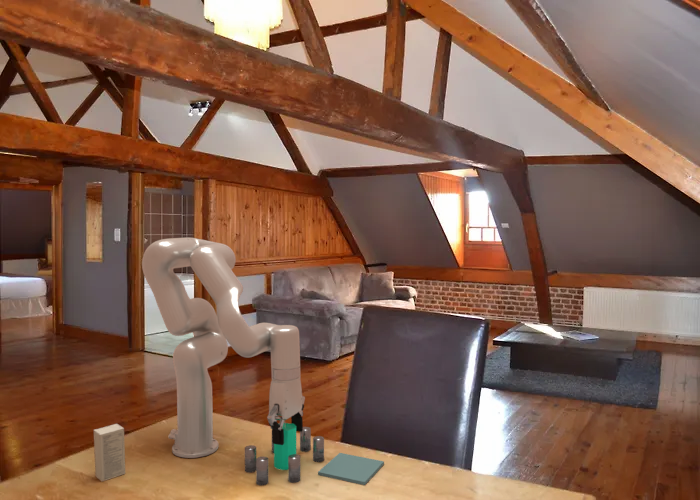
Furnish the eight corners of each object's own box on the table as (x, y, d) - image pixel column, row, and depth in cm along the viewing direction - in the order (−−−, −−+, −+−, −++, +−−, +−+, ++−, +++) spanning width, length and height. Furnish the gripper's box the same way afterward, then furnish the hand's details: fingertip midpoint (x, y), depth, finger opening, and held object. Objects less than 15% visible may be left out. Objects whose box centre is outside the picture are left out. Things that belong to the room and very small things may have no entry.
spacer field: (231, 478, 145) (231, 455, 145) (283, 442, 168) (283, 422, 168) (287, 491, 139) (287, 467, 138) (333, 452, 161) (333, 431, 161)
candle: (292, 471, 150) (292, 425, 149) (270, 468, 151) (270, 423, 150) (299, 461, 156) (299, 417, 155) (278, 459, 157) (277, 415, 156)
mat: (317, 475, 148) (317, 471, 148) (339, 455, 159) (339, 452, 159) (364, 485, 142) (364, 482, 142) (383, 464, 154) (384, 461, 154)
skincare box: (118, 468, 150) (117, 423, 150) (126, 474, 147) (125, 427, 147) (93, 476, 146) (92, 429, 145) (100, 482, 143) (99, 434, 142)
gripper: (290, 364, 161) (292, 424, 162) (255, 380, 145) (257, 447, 146) (314, 366, 158) (315, 427, 159) (281, 383, 142) (283, 451, 143)
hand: (288, 437), depth 153 cm, fingers open, 9 cm apart
